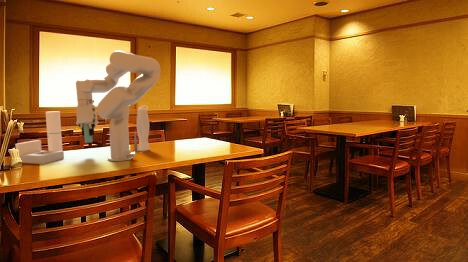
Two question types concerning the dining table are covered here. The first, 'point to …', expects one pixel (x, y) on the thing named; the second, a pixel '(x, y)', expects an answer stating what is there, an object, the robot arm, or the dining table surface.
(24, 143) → the wall
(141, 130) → the white bottle
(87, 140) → the dowel
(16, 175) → the dining table surface
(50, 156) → the socket block
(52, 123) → the cylindrical container
